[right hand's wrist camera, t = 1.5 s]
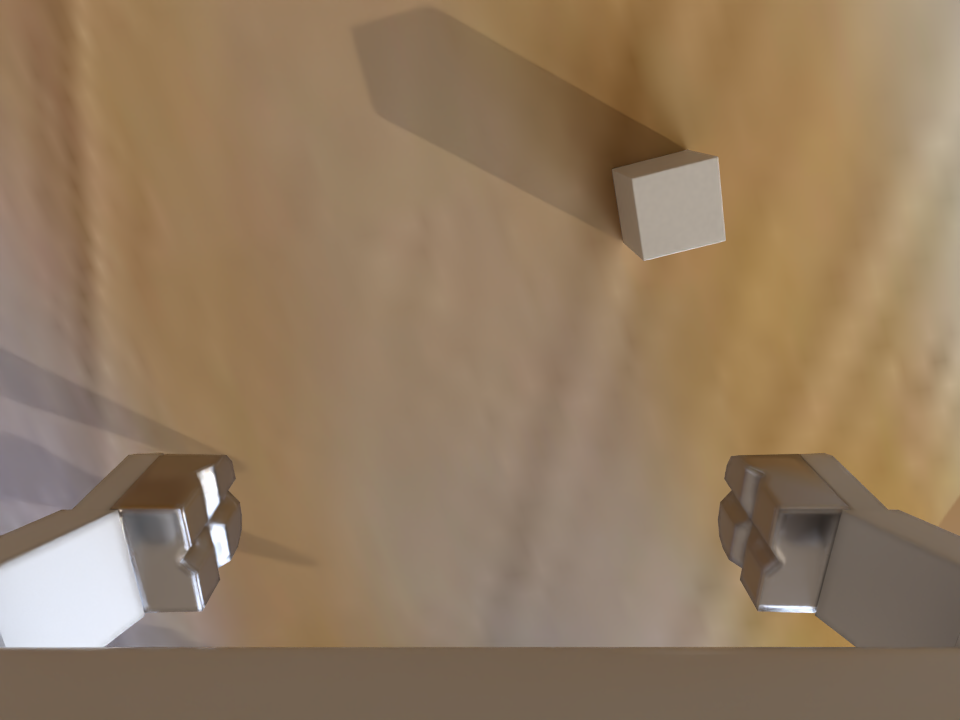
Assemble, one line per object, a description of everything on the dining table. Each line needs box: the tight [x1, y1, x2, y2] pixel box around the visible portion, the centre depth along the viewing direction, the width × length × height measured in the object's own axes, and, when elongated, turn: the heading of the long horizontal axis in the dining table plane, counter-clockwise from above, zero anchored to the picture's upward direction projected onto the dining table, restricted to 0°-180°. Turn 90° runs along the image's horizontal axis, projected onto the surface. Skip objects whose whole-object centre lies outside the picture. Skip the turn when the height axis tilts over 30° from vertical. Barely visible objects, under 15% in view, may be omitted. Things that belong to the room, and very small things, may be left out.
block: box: [612, 150, 726, 261], centre depth 35 cm, size 4×4×5 cm
